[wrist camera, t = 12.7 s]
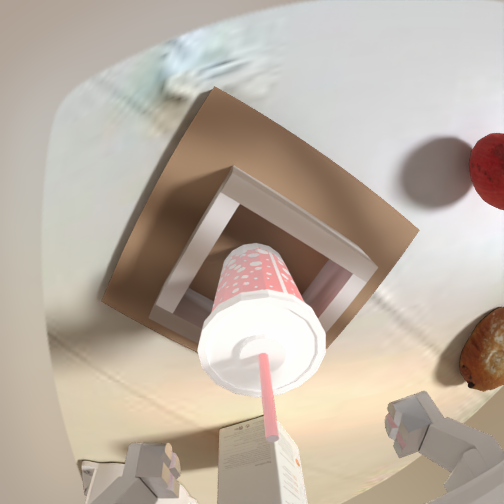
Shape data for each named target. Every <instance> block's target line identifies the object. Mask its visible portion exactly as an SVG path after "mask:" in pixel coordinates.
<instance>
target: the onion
mask: <svg viewBox="0 0 504 504" xmlns="http://www.w3.org/2000/svg"><path fill="white" fill-rule="evenodd" d="M469 168H470V176H471V179H472V182H473V185H474V187H475V189H476V191H477V193H478V194H479V195H480V197H481V198H482V199H483V200H484V201H485V202H487V203H488V204H490V205H492V206H494V207H496V208H498V209H501V210H504V134H502V133H492V134H489V135H487V136H485V137H483V138H481V139H480V140H479V141H478V142H477V143H476V145H475V146H474V148H473V149H472V151H471V156H470V161H469Z"/></svg>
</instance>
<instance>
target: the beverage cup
mask: <svg viewBox="0 0 504 504" xmlns="http://www.w3.org/2000/svg"><path fill="white" fill-rule="evenodd" d="M197 351H198V355H199V358H200V362H201V365H202V368H203V370H204V371H205V372H206V373H207V375H208V376H209V377H210V378H211V379H212V380H213V381H214V382H215V383H216V384H217V385H219V386H221V387H223V388H225V389H227V390H229V391H231V392H233V393H235V394H240V395H247V396H253V397H262V403H263V414H264V425H265V435H266V441H268V442H276V441H278V440H279V434H278V426H277V419H276V411H275V403H274V396H273V395H278V394H282V393H284V392H287V391H289V390H291V389H294V388H296V387H298V386H300V385H302V384H303V383H304V382H305V381H306V380H307V379H309V378H310V377H311V376H312V375H313V374H314V373H315V372H316V371H317V370H318V368H319V366H320V364H321V362H322V360H323V358H324V356H325V354H326V334H325V331H324V329H323V328H322V326H321V323H320V322H319V320H318V318H317V316H316V315H315V313H314V311H313V309H312V308H311V307H310V306H309V305H307V304H306V303H305V302H304V300H303V298H302V296H301V294H300V292H299V290H298V288H297V286H296V284H295V283H294V281H293V279H292V277H291V275H290V273H289V271H288V269H287V267H286V265H285V263H284V261H283V260H282V258H281V256H280V254H279V253H278V252H276V251H275V250H274V249H272V248H271V247H270V246H267V245H263V244H258V243H253V244H245V245H242V246H240V247H238V248H237V249H235V250H233V251H232V252H231V253H230V254H229V255H228V257H227V258H226V259H225V261H224V264H223V268H222V272H221V276H220V280H219V284H218V288H217V292H216V296H215V300H214V304H213V308H212V312H211V314H210V315H209V316H208V318H207V319H206V320H205V321H204V324H203V328H202V332H201V336H200V341H199V345H198V350H197Z"/></svg>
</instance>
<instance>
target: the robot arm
mask: <svg viewBox="0 0 504 504" xmlns="http://www.w3.org/2000/svg"><path fill="white" fill-rule="evenodd" d="M387 410H388V412H389V413H388V414H387V415H386V417H385V428H386V431H387V434H388V436H389V438H391V439H393V440H395V442H394V445H393V447H394V449H395V451H396V453H397V455H398V457H399V458H402V457H405V456H407V455H410V454H413V453H416V452H418V451H419V453H420V454H422V455H424V456H425V457H427V458H428V459H430V460H432V461H433V462H435V463H436V464H438V465H439V466H441V467H443V468H444V469H446V470H448V471H449V472H451V474H450V476H449V477H448V479H447V480H446V482H445V484H444V486H445V488H446V490H447V494H444V495H442V496H440V497H438V498H436V499H434V500H432V501H430V502H427V503H425V504H504V452H503V451H502V449H501V448H500V446H499V444H498V443H497V441H496V440H495V439H494V437H493V436H491V435H489V434H486V433H484V432H482V431H479V430H477V429H474V428H472V427H470V426H467V425H465V424H462V423H460V422H458V421H455V420H453V419H451V418H449V417H447V418H444V417H443V415H442V414H441V412H440V411H439V409H438V408H437V406H436V405H435V403H434V402H433V400H432V399H431V397H430V396H429V394H428V393H427V392H426V391H421V392H419V393H416V394H414V395H410V396H407V397H405V398H402V399H399V400H396V401H394V402H391V403H389V404H388V408H387ZM81 469H82V479H83V487H84V494H85V495H86V496H87V497H86V501H85V504H197V503H198V502H197V501H196V500H195V499H193V498H192V497H190V496H189V495H188V493H187V491H186V489H185V488H184V487H183V486H182V485H181V484H179V483H178V481H177V480H176V479H177V478H178V477H179V476H180V473H181V467H180V461H179V458H178V456H177V454H176V453H174V452H172V446H171V445H170V443H131V444H130V445H129V447H128V451H127V456H126V460H125V464H120V463H95V462H91V461H82V466H81Z"/></svg>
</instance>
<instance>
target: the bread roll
mask: <svg viewBox="0 0 504 504" xmlns="http://www.w3.org/2000/svg"><path fill="white" fill-rule="evenodd" d="M460 371H461V374H462V376H463V377H464V379H465V380H466V381H467V383H468V387H469V388H473V389H477V390H480V391H483V392H484V391H486V390H492V389H495V388H497V387H499V386H502V385H504V307H501V308H498V309H495V310H494V311H492V312H491V313H489V314H488V315H487V316H486V317H485V318H484V319H483V320H482V321H481V322H480V323H479V324H478V325H477V326H476V328H475V329H474V331H473V332H472V334H471V336H470V338H469V339H468V341H467V343H466V345H465V346H464V348H463V350H462V354H461V358H460Z"/></svg>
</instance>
